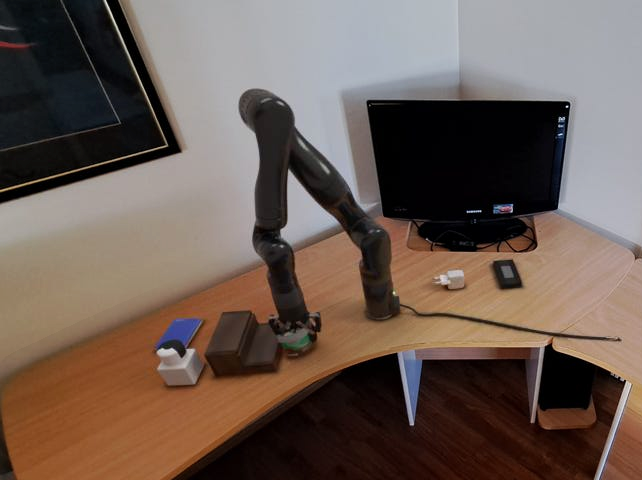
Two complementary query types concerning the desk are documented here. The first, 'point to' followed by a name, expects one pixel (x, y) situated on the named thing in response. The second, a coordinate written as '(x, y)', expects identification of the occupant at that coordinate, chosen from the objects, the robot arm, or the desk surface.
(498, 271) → the vhs tape
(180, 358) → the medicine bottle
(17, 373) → the desk surface
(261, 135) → the robot arm
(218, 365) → the desk shelf
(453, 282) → the power adapter
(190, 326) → the hard drive
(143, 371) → the desk surface
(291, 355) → the food container
